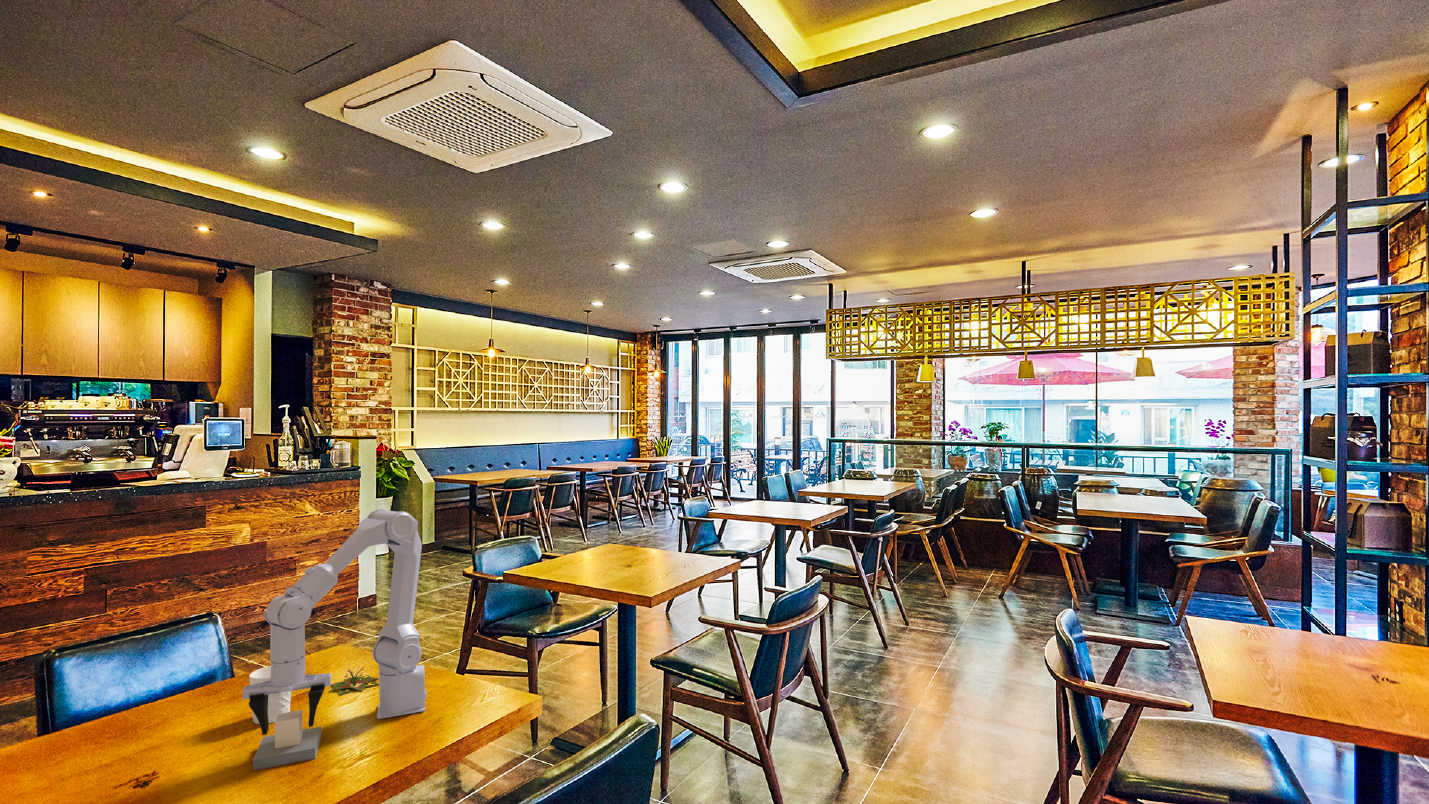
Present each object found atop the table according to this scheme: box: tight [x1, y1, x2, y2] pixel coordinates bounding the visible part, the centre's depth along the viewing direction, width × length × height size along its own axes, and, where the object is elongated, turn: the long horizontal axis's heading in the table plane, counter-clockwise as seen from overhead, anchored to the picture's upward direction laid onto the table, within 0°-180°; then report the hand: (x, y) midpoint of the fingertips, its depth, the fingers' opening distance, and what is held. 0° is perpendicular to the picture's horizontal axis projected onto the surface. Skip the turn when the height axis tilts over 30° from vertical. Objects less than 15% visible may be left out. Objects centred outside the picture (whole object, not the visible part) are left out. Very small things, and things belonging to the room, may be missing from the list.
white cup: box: [248, 665, 292, 725], centre depth 149 cm, size 8×8×10 cm
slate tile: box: [252, 726, 323, 771], centre depth 133 cm, size 10×10×2 cm
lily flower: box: [327, 666, 379, 696], centre depth 166 cm, size 12×12×5 cm
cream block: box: [274, 709, 303, 748], centre depth 134 cm, size 4×4×5 cm
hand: (288, 728), depth 133 cm, fingers open, 7 cm apart
